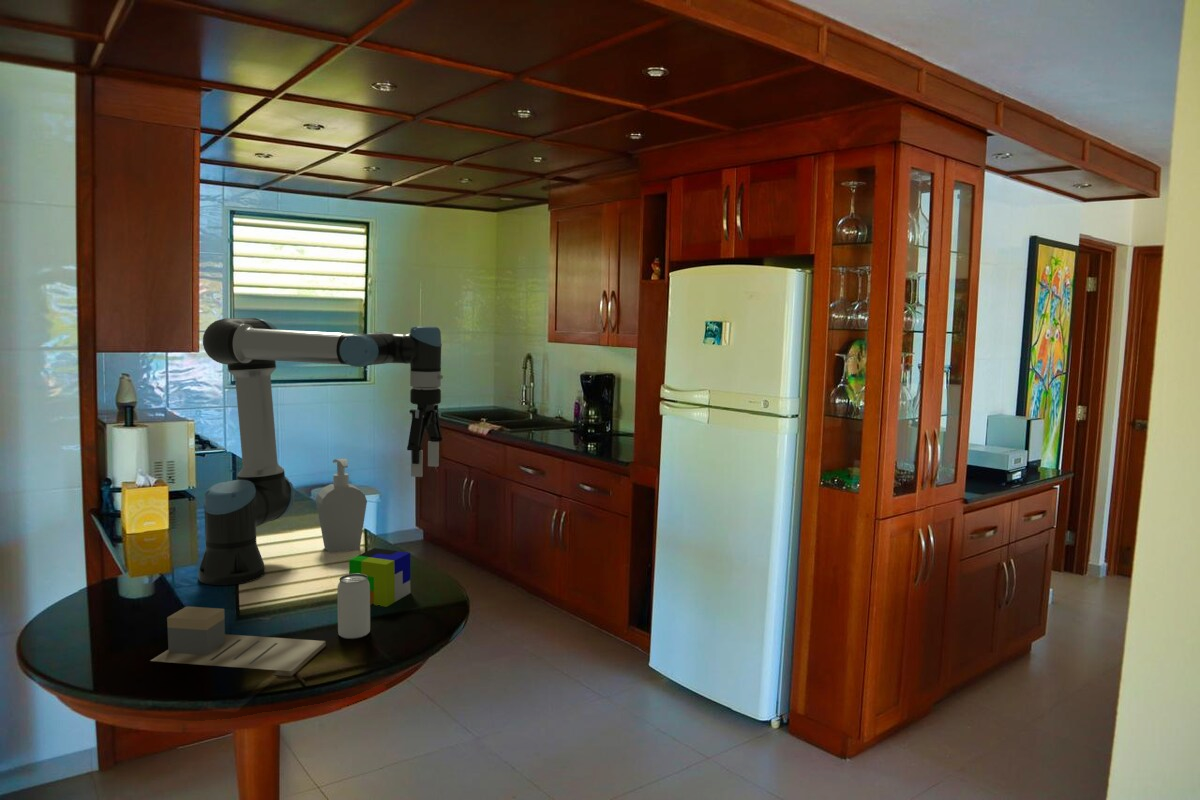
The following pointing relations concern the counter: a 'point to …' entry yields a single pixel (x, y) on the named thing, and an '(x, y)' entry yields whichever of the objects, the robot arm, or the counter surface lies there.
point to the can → (353, 606)
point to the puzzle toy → (384, 574)
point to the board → (254, 654)
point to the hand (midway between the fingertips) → (425, 471)
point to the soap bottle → (341, 512)
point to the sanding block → (196, 630)
